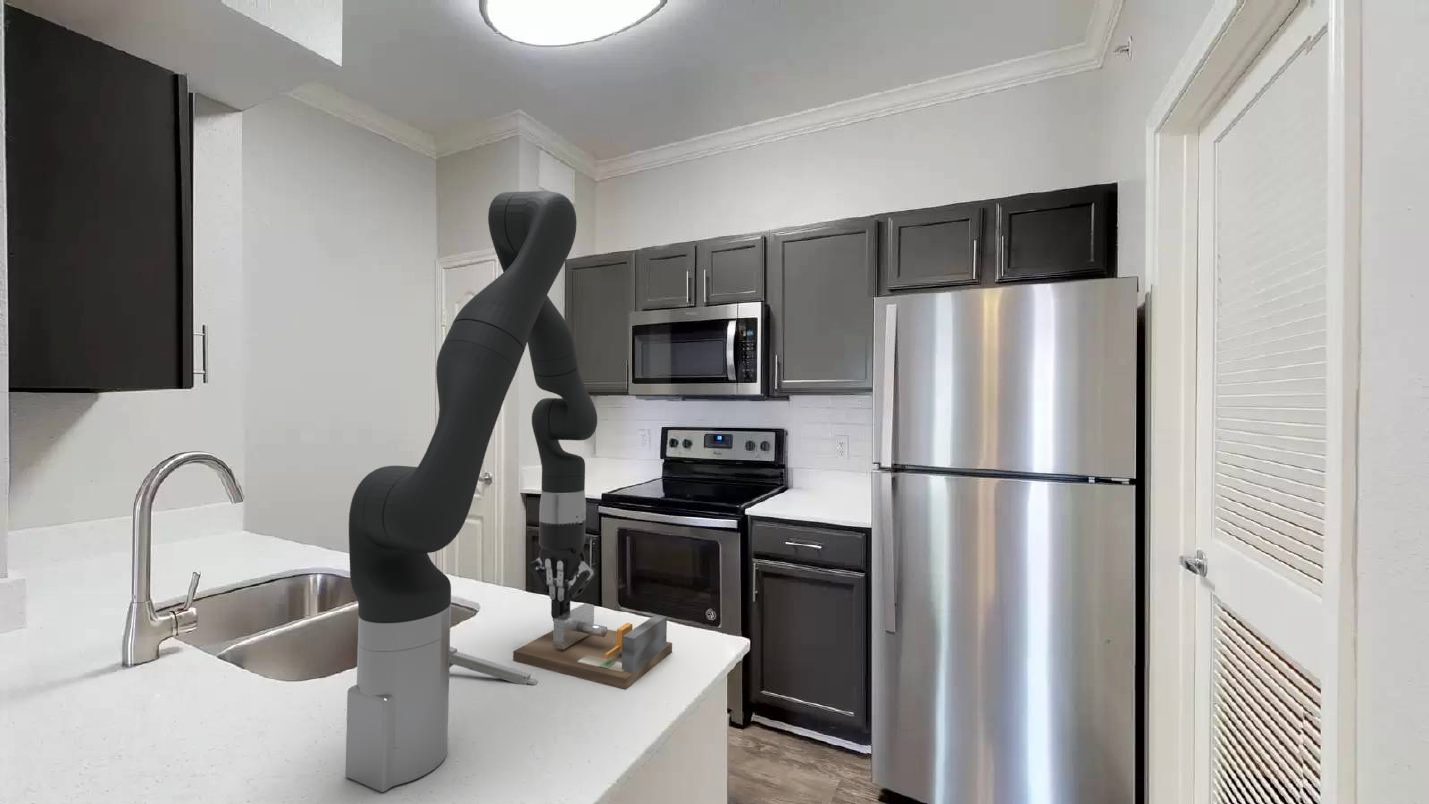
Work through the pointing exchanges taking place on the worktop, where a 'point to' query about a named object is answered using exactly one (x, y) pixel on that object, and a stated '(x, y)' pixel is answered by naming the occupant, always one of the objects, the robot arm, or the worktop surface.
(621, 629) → the orange paddle
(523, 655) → the gauge board
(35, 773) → the worktop surface
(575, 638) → the plunger
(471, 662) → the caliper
